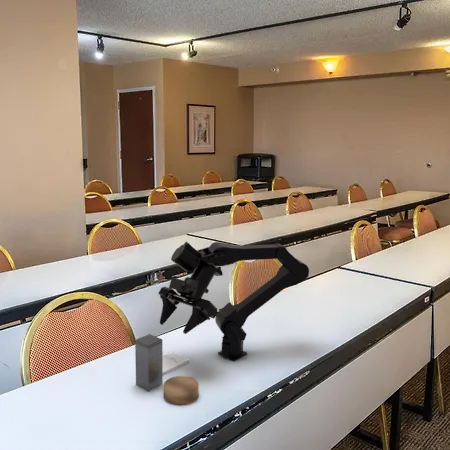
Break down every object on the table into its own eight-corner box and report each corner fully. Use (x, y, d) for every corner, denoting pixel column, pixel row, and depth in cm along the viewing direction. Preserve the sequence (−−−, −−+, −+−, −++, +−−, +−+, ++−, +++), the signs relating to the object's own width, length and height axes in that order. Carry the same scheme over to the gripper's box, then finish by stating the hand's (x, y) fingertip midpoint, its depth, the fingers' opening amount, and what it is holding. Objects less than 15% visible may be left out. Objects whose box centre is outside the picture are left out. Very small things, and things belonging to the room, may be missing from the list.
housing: (150, 378, 139) (149, 334, 137) (162, 384, 136) (162, 339, 134) (135, 385, 136) (135, 339, 133) (148, 391, 132) (147, 345, 130)
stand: (181, 382, 137) (181, 372, 137) (205, 394, 132) (205, 384, 131) (156, 395, 131) (156, 385, 130) (180, 409, 125) (181, 398, 124)
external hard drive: (138, 370, 145) (169, 355, 154) (158, 379, 140) (189, 363, 149) (138, 365, 144) (169, 350, 154) (158, 374, 139) (189, 358, 149)
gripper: (162, 259, 146) (133, 306, 140) (210, 272, 134) (181, 324, 128) (182, 279, 153) (155, 324, 147) (229, 293, 142) (202, 343, 136)
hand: (172, 328), depth 140 cm, fingers open, 9 cm apart
